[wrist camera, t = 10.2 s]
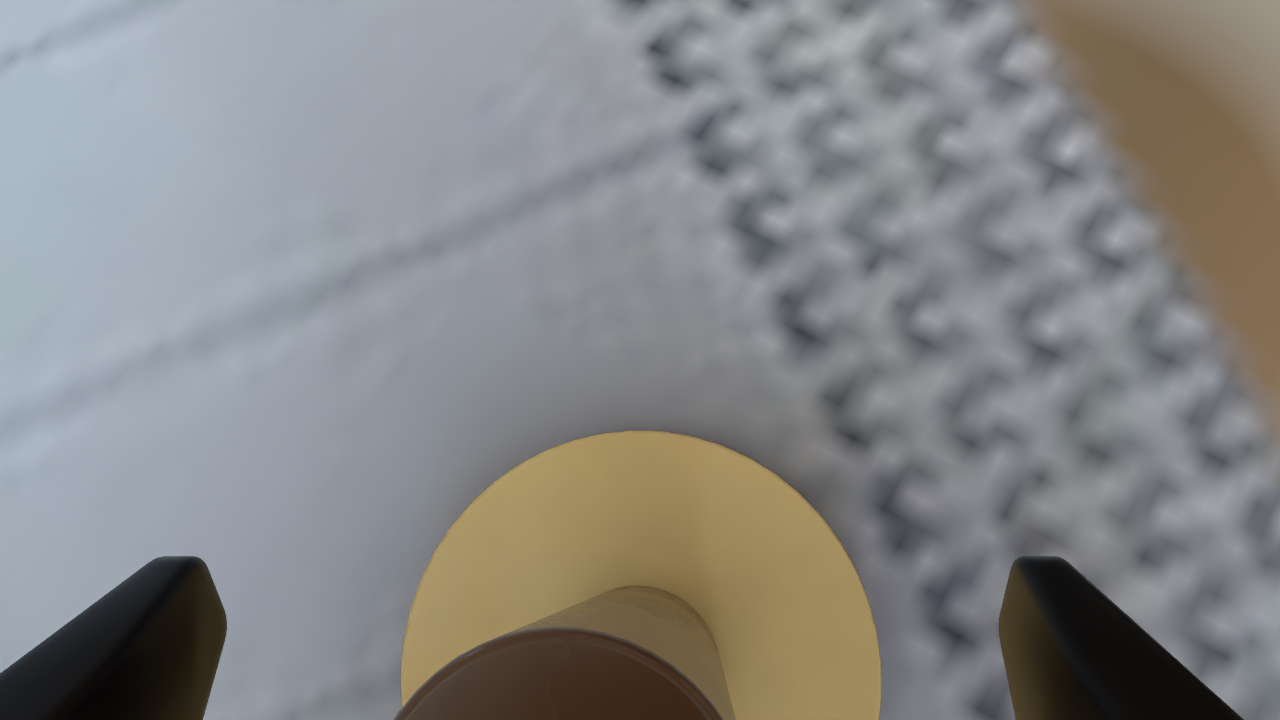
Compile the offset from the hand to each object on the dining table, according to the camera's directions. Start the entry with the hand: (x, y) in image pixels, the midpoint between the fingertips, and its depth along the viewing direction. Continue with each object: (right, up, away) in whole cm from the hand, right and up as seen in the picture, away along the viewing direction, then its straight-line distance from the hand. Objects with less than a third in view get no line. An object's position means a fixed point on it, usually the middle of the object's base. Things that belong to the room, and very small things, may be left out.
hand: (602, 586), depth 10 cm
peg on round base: (0, -3, +7) cm, 7 cm away
